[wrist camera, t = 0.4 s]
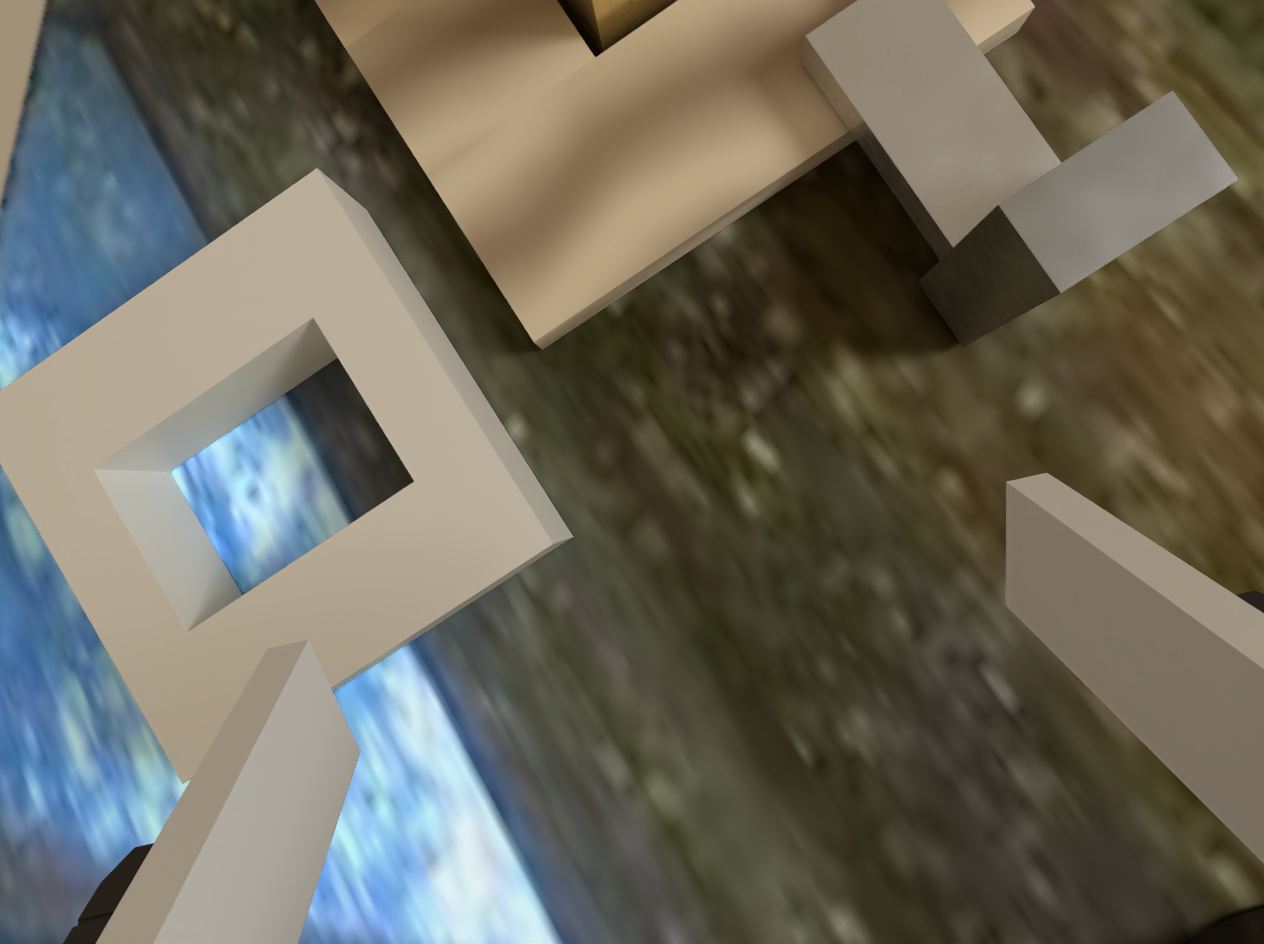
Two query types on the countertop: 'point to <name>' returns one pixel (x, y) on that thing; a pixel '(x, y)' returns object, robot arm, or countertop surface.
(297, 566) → the block
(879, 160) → the steel key
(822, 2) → the socket plate
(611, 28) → the brass peg
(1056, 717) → the countertop surface
